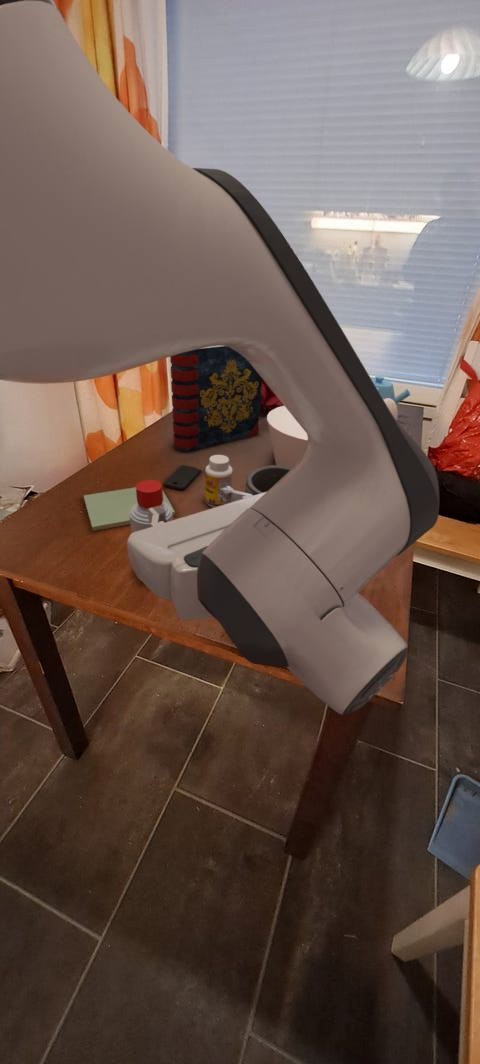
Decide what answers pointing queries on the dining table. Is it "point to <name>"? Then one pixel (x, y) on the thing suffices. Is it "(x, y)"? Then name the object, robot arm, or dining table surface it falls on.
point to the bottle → (145, 517)
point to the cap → (149, 494)
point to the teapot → (388, 390)
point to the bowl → (286, 437)
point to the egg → (392, 407)
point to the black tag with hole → (182, 477)
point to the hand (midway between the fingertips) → (189, 501)
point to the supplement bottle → (217, 478)
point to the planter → (264, 478)
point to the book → (213, 397)
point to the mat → (112, 508)
